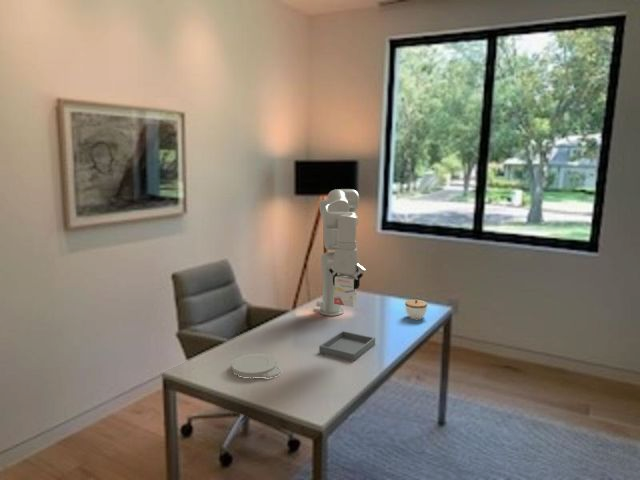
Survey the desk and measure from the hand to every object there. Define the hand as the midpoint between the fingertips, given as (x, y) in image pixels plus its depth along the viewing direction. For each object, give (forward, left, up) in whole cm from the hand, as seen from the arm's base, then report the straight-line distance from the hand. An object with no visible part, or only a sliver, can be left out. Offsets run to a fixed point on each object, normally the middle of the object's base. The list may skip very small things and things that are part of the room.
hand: (345, 286), depth 197 cm
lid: (-20, -34, -28) cm, 48 cm away
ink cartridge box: (0, 0, -8) cm, 8 cm away
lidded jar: (+11, +54, -28) cm, 62 cm away
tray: (0, +2, -28) cm, 28 cm away
